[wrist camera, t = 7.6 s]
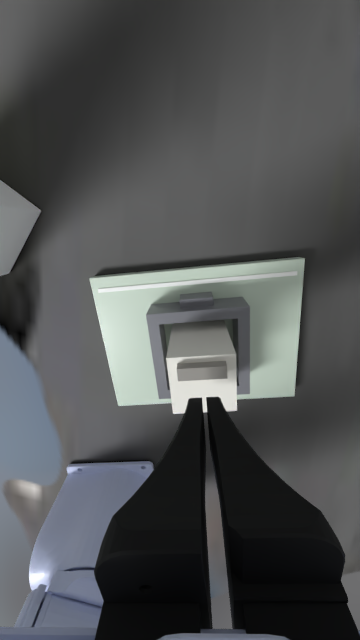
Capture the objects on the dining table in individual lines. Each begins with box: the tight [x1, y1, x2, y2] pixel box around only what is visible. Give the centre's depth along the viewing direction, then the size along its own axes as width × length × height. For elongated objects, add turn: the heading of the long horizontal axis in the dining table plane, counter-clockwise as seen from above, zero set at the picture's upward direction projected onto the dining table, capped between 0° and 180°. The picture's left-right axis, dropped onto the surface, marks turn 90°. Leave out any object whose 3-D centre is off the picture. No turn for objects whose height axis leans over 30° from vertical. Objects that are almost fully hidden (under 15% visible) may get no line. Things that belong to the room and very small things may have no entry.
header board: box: [89, 257, 305, 406], centre depth 20 cm, size 16×12×4 cm
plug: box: [166, 320, 237, 414], centre depth 17 cm, size 4×4×7 cm
